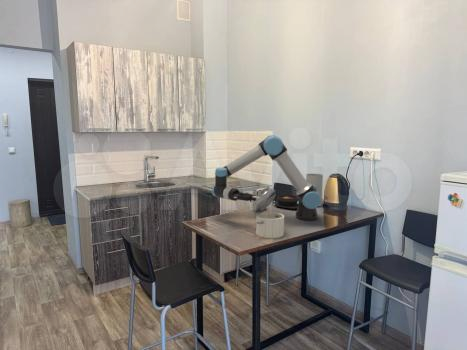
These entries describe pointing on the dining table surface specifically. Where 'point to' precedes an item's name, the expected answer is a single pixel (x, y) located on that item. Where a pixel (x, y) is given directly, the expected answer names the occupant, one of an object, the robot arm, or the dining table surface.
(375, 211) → the dining table surface
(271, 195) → the lid
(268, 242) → the dining table surface
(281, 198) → the casserole
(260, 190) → the candy bar box
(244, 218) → the dining table surface
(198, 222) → the dining table surface
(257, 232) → the stockpot
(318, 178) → the cylinder vase
